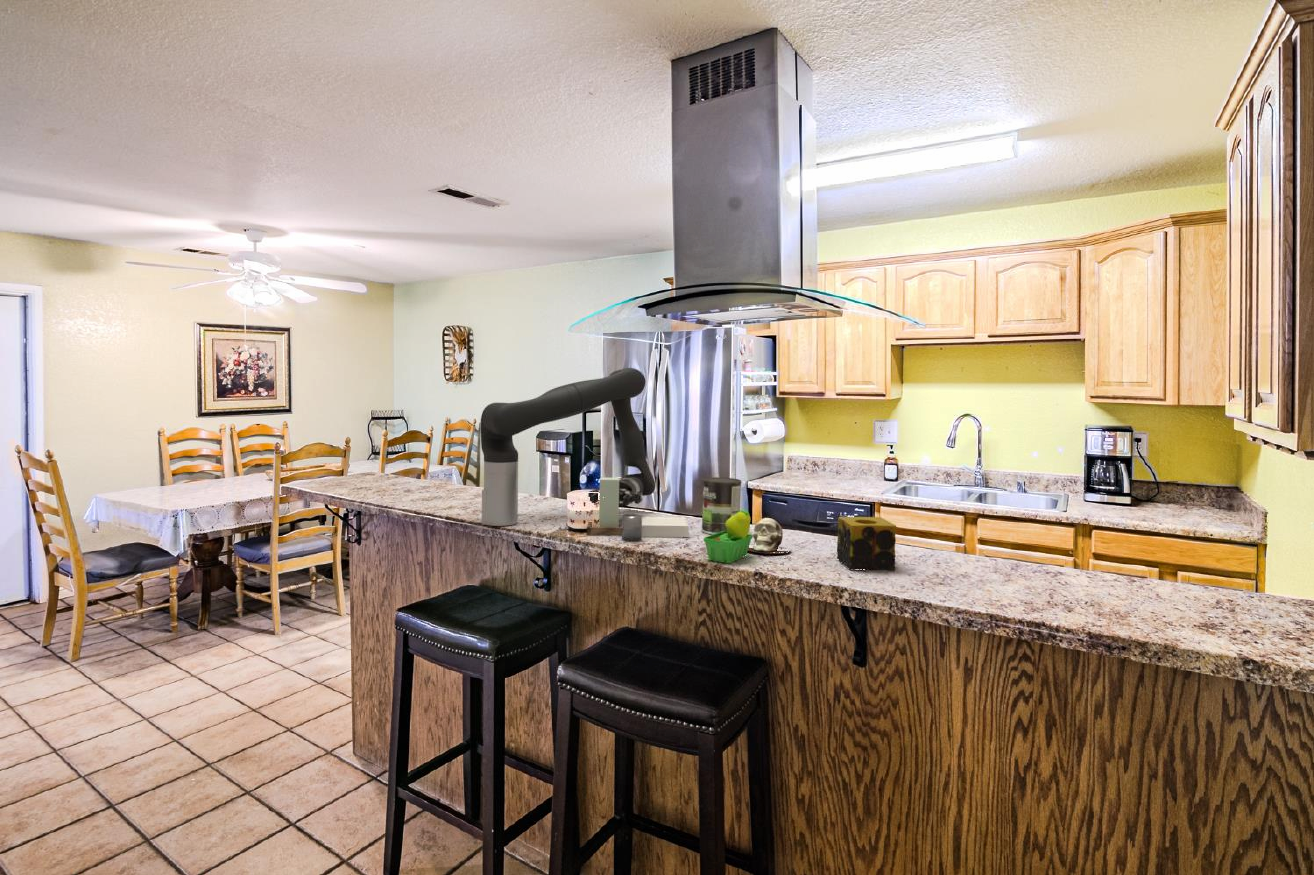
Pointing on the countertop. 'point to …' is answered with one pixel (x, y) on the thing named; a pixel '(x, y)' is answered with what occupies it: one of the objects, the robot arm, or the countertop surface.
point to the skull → (767, 536)
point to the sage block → (609, 502)
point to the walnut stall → (603, 530)
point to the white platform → (664, 527)
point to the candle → (866, 543)
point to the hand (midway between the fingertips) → (608, 500)
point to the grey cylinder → (631, 527)
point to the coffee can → (719, 503)
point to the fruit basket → (730, 539)
